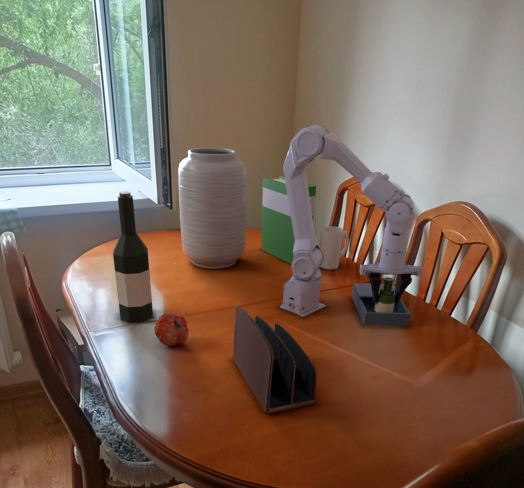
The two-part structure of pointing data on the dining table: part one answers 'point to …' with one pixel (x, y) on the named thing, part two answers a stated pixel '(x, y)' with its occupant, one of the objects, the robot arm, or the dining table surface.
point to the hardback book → (279, 218)
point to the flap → (366, 289)
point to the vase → (212, 207)
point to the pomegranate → (171, 329)
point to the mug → (332, 246)
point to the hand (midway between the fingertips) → (385, 301)
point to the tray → (374, 318)
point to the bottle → (386, 297)
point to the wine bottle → (131, 267)
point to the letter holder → (273, 364)
